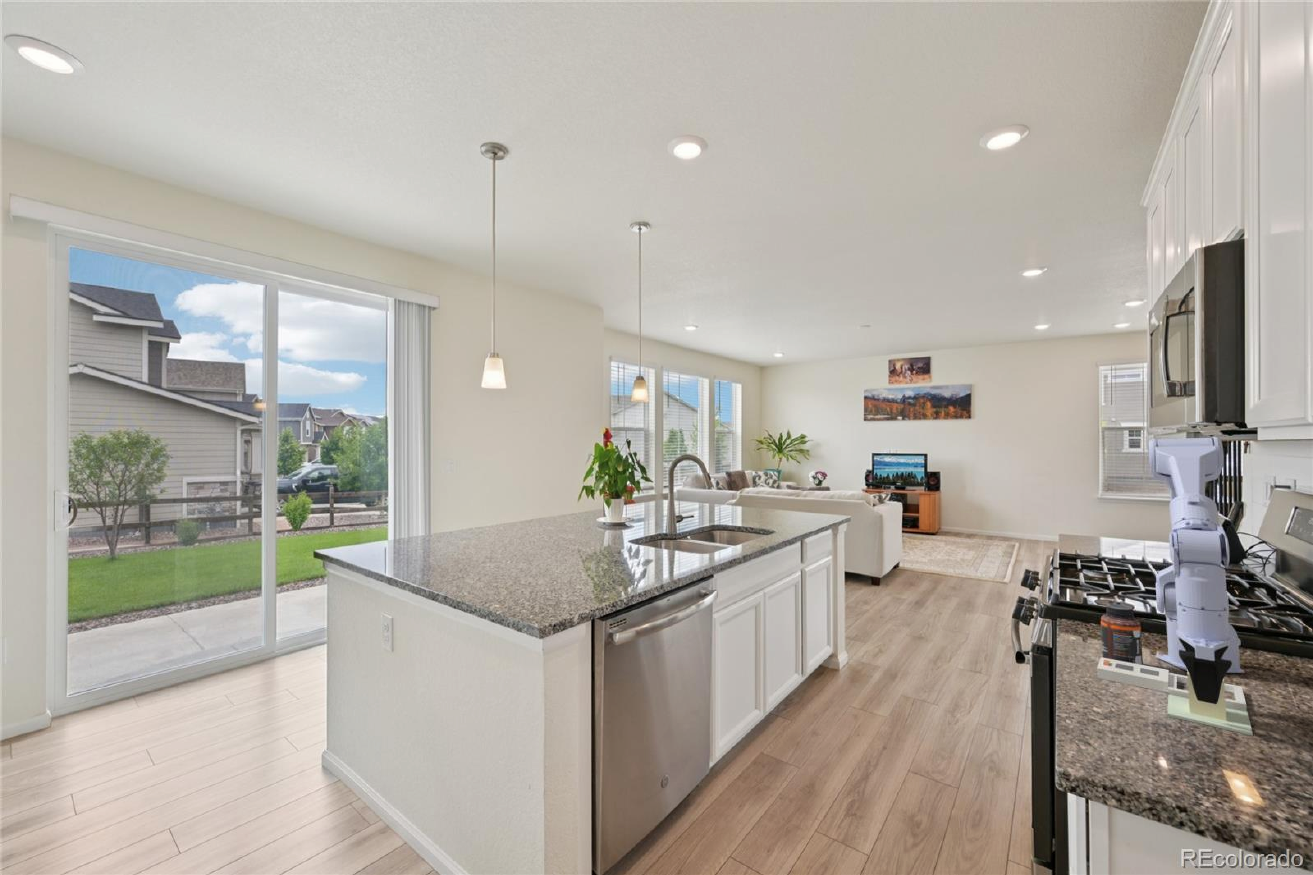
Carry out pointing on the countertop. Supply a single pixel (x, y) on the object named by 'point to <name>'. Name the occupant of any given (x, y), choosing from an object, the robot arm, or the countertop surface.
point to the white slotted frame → (1157, 680)
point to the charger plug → (1207, 708)
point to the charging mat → (1234, 717)
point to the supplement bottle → (1121, 634)
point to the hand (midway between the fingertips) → (1206, 693)
